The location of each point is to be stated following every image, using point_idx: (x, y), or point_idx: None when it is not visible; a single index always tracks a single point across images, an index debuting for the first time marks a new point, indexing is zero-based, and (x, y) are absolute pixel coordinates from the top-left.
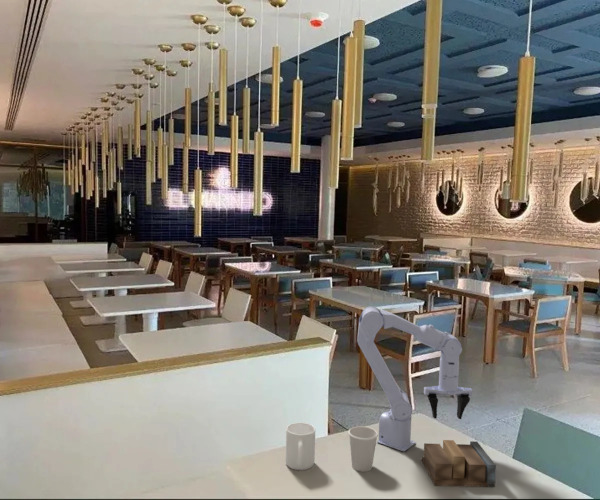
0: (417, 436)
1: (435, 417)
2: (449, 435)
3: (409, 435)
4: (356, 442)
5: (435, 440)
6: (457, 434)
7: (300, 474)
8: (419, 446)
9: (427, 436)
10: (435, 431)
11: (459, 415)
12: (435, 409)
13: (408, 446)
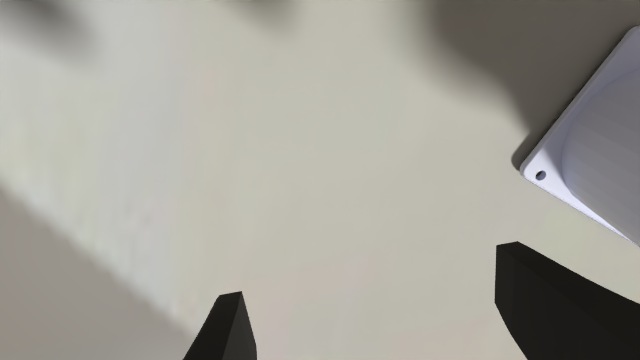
0: (476, 264)
1: (515, 246)
2: (279, 321)
3: (634, 130)
4: None
5: (377, 240)
6: None
7: None
8: (500, 135)
9: (415, 278)
10: (355, 347)
11: (237, 318)
12: (589, 298)
13: (591, 92)
